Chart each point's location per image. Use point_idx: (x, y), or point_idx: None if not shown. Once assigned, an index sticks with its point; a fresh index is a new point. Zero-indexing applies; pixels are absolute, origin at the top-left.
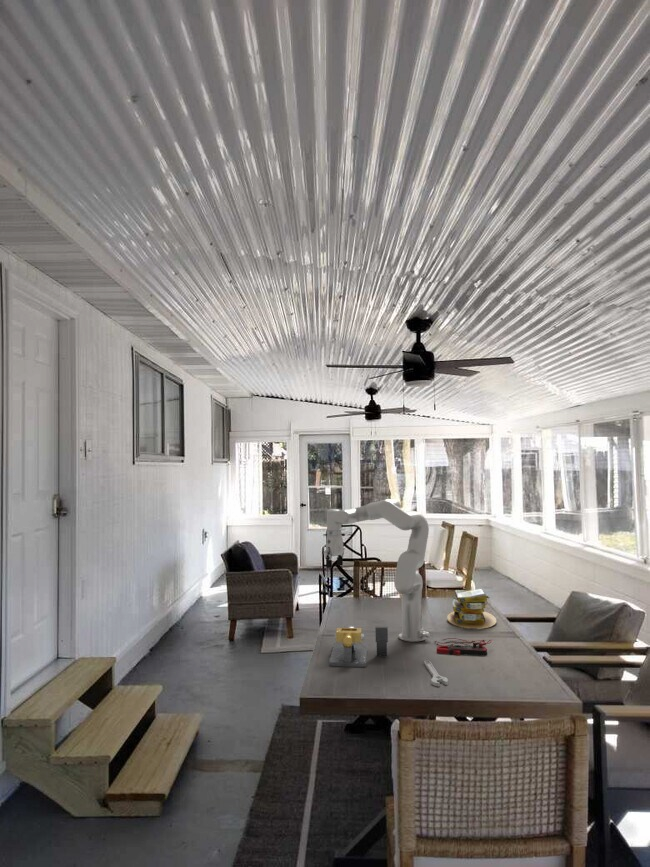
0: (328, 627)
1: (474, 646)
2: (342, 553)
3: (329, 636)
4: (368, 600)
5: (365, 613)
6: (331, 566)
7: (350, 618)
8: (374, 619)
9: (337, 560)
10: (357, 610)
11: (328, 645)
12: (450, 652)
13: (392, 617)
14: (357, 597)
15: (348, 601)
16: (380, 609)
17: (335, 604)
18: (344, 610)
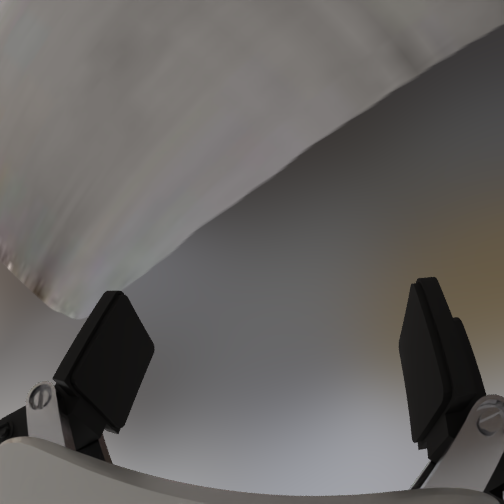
0: (327, 128)
1: None
2: (27, 450)
3: (419, 51)
4: (23, 256)
5: (83, 165)
6: (436, 291)
7: (163, 153)
8: (105, 82)
9: (132, 391)
10: (85, 209)
11: (490, 6)
12: None
13: (49, 68)
14: (36, 291)
15: (66, 287)
16: (30, 168)
17: None
18: (118, 239)
